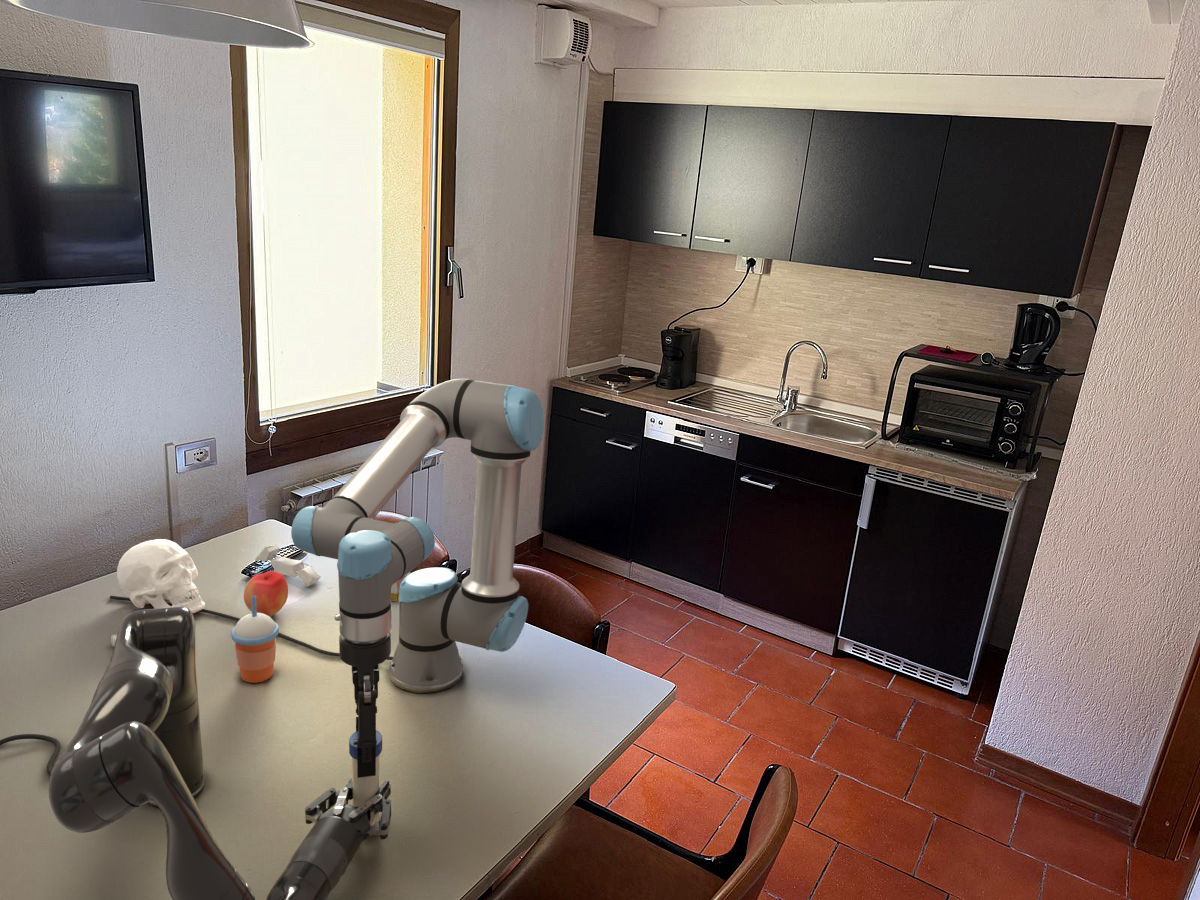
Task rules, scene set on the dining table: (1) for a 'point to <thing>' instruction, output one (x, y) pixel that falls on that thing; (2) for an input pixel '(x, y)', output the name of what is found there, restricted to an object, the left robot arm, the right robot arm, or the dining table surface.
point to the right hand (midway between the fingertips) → (365, 763)
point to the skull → (159, 575)
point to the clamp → (288, 565)
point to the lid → (354, 747)
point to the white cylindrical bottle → (364, 787)
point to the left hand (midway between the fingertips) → (373, 782)
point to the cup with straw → (255, 645)
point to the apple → (267, 592)
